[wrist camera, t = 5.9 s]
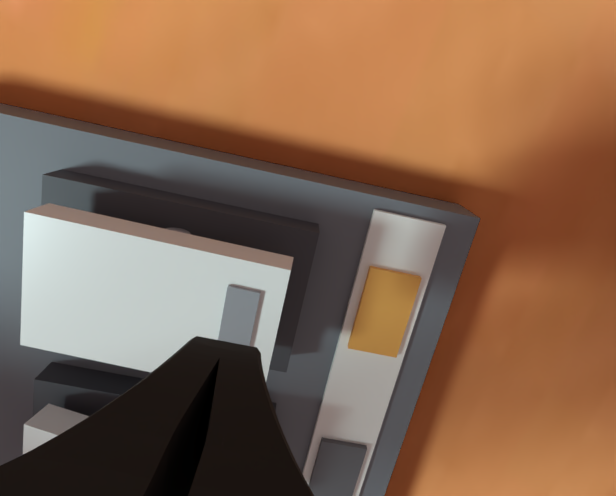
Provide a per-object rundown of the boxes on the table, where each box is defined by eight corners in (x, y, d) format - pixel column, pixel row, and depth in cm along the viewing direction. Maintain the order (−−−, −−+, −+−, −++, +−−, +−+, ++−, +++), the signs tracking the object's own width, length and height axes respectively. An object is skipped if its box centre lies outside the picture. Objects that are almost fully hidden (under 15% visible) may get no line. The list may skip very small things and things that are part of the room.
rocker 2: (43, 327, 13) (17, 346, 12) (49, 203, 12) (20, 212, 10) (267, 374, 13) (262, 398, 12) (293, 257, 12) (290, 272, 11)
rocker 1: (43, 493, 15) (17, 522, 14) (48, 403, 14) (20, 426, 13) (226, 555, 14) (213, 590, 13) (246, 465, 13) (233, 496, 12)
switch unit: (-44, 552, 20) (-118, 647, 17) (-55, 90, 14) (-174, 86, 11) (325, 608, 21) (329, 708, 18) (458, 204, 15) (504, 233, 12)
